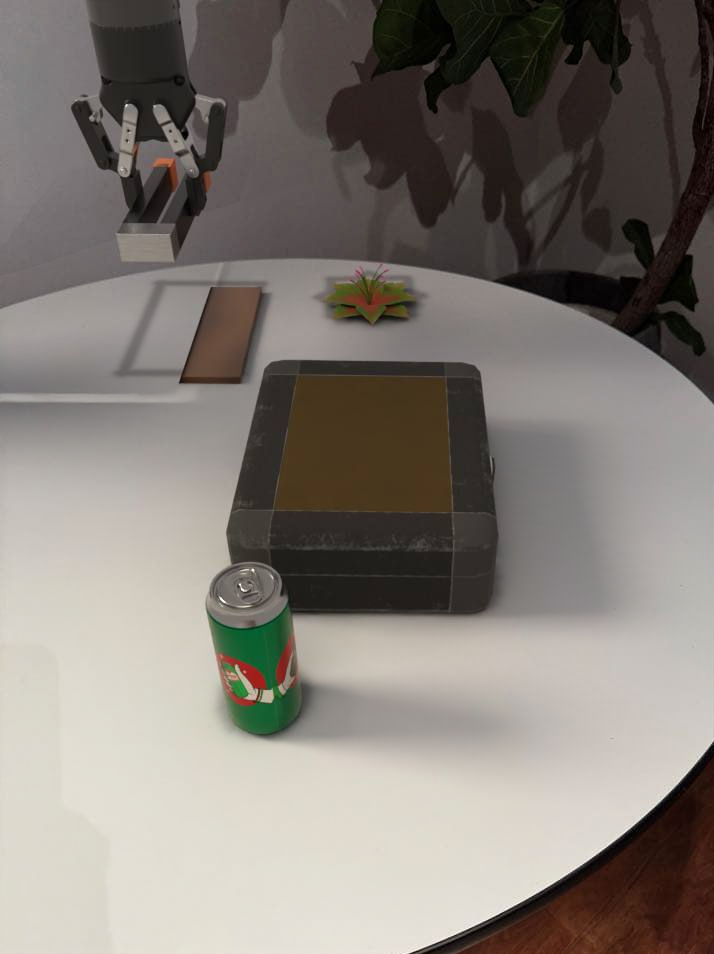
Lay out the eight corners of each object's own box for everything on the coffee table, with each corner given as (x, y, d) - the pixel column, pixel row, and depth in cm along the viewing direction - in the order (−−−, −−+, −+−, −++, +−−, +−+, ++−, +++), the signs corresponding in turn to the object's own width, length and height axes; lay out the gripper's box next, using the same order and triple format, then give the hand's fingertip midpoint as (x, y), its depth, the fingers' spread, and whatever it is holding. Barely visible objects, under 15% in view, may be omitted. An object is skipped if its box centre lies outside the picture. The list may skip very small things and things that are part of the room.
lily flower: (319, 283, 107) (317, 247, 104) (416, 281, 107) (417, 245, 104) (318, 332, 98) (315, 294, 95) (424, 329, 99) (425, 292, 96)
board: (124, 383, 90) (122, 376, 89) (162, 292, 105) (160, 286, 104) (240, 383, 90) (239, 376, 89) (262, 293, 105) (261, 286, 104)
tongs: (161, 183, 91) (157, 158, 90) (211, 184, 91) (207, 158, 90) (119, 262, 78) (112, 233, 76) (177, 262, 78) (172, 234, 76)
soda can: (285, 669, 62) (269, 547, 54) (314, 720, 59) (301, 599, 51) (218, 695, 61) (191, 573, 53) (243, 750, 57) (219, 629, 49)
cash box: (500, 618, 66) (509, 544, 61) (233, 614, 66) (220, 540, 61) (481, 427, 85) (487, 357, 80) (272, 424, 85) (265, 354, 79)
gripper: (34, 21, 70) (84, 228, 82) (212, 23, 70) (237, 229, 82) (61, 1, 76) (104, 197, 87) (226, 2, 76) (248, 198, 87)
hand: (168, 212), depth 84 cm, fingers closed on tongs, 4 cm apart
